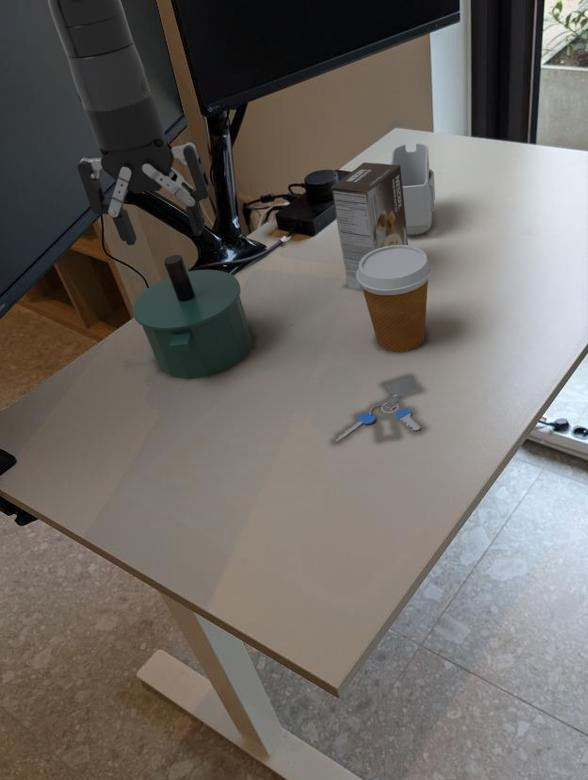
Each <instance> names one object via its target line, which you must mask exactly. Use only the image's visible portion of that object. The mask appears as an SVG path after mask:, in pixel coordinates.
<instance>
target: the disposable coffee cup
mask: <svg viewBox="0 0 588 780" xmlns="http://www.w3.org/2000/svg"><path fill="white" fill-rule="evenodd" d="M431 273H432V263H431V262H430V260H429V258H428V256H427V253H426V252H425V251H424V250H422V249H421V248H419V247H416V246H412V245H409V244H408V245H392V246H386V247H382V248H379V249H376V250H373V251H371V252H369V253H368V254H366V255H365V256H364V257H363V258H362V259H361V261H360V262H359V269H358V270H357V274H356V276H357V280H358V282H359V283H360V285H361V286H362V289H363V290H362V289H361V290H362V292H363V296H364V299H365V302H366V303H365V304H366V306H367V310H368V313H369V317H370V321H371V324H372V328H373V331H374V334H375V339H376V341H377V344H378V346H379V347H380V348H381V349H383V350H384V351H386V352H390V353H405V352H409V351H412V350H414V349H416V348H418V347H419V346H421V344H422V343H424V340H425V333H426V332H425V331H426V319H427V318H426V317H427V302H428V287H429V285H428V284H429V279H430V275H431Z"/></svg>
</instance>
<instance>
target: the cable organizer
mask: <svg viewBox="0 0 588 780" xmlns="http://www.w3.org/2000/svg"><path fill="white" fill-rule="evenodd" d="M429 155H430V154H429V147H428V146H427V145H426V144H424V143H421V142H420V143H419V142H416V143H415V150H411V151H407V148H406V144H401V145H399V146H397V147H395V148H394V149H393V150H392V151H391V159H390V165H401V176H402V186H403V197H404V208H405V217H406V228H407V236H418V235H422V234H424V233H426V232H428V231H429V230H430V228H431V227H432V222H433V221H432V220H433V212H435V200H436V187H435V185H436V184H435V173H434V171H433V170H432V169H430V157H429Z"/></svg>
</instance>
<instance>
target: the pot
mask: <svg viewBox="0 0 588 780" xmlns="http://www.w3.org/2000/svg"><path fill="white" fill-rule="evenodd" d="M142 329H143V331H144V334H145V335H146V338H147V340H148V343H149V345H150V349H151V351H152V352H153V355H154V357H155V360H156V362H157V365H158V367H159V369H160V370H161V372H164V373H165V374H167V375H169V376H171V377H172V378H179V379H187V380H188V379H189V380H190V379H198V378H206V377H210V376H214V375H215V374H219V373H221V372H223V371H226V370H228V369H230V368H231V367H233V366H235V365H236V364H237V363H239V362H241V361H242V360H243V358H245V356H246V355H247V353H248V352H249V351H250V350H251V348H252V339H253V338H252V337H253V336H252V333H251V331H250V327H249V323H248V320H247V316H246V313H245V309H244V305H243V303H242V299H241V295H240V296H239V298H238V300H237V301H236V303H235V304H234V305H233V306H232V307H231V308H230V309H229V310H228V311H226V312H225V313H223V314H222V315H220V316H219V317H217V318H215V319H213V320H211V321H209V322H206V323H204V324H201V325H198V326H195V327H191V328H187V329H181V330H173V331H160V330H153V329H149V328H146V327H144V326H142Z"/></svg>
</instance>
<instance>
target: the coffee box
mask: <svg viewBox="0 0 588 780" xmlns="http://www.w3.org/2000/svg"><path fill="white" fill-rule="evenodd" d="M330 190H331V195H332V201H333V207H334V213H335V219H336V225H337V231H338V236H339V243H340V248H341V254H342V260H343V265H344V266H343V267H344V273H345V279H346V284H347V287H348V288H352V289H357V290H362V291H363V289H362V286H361V285H360V283H359V282H358V280H357V276H356V274H357V270H358V269H359V262H360V261H361V259H362V258H363V257H364V256H365V255H366V254H368V253H369V252H371V251H373V250H376V249H379V248H382V247H386V246H392V245H409V240H408V235H407V228H406V217H405V208H404V197H403V186H402V176H401V165H391V163H390V164H389V163H378V162H377V163H375V162H362V163H361V164H360V165H358V166H357V167H356V168H355V169H353V170H352V171H351V172H349V173H348V174H346V175H345V176H344V177H342V178H341V179H340V180H339V181H337V182H336V183H335V184H333V185H332V186H331V187H330Z"/></svg>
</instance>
